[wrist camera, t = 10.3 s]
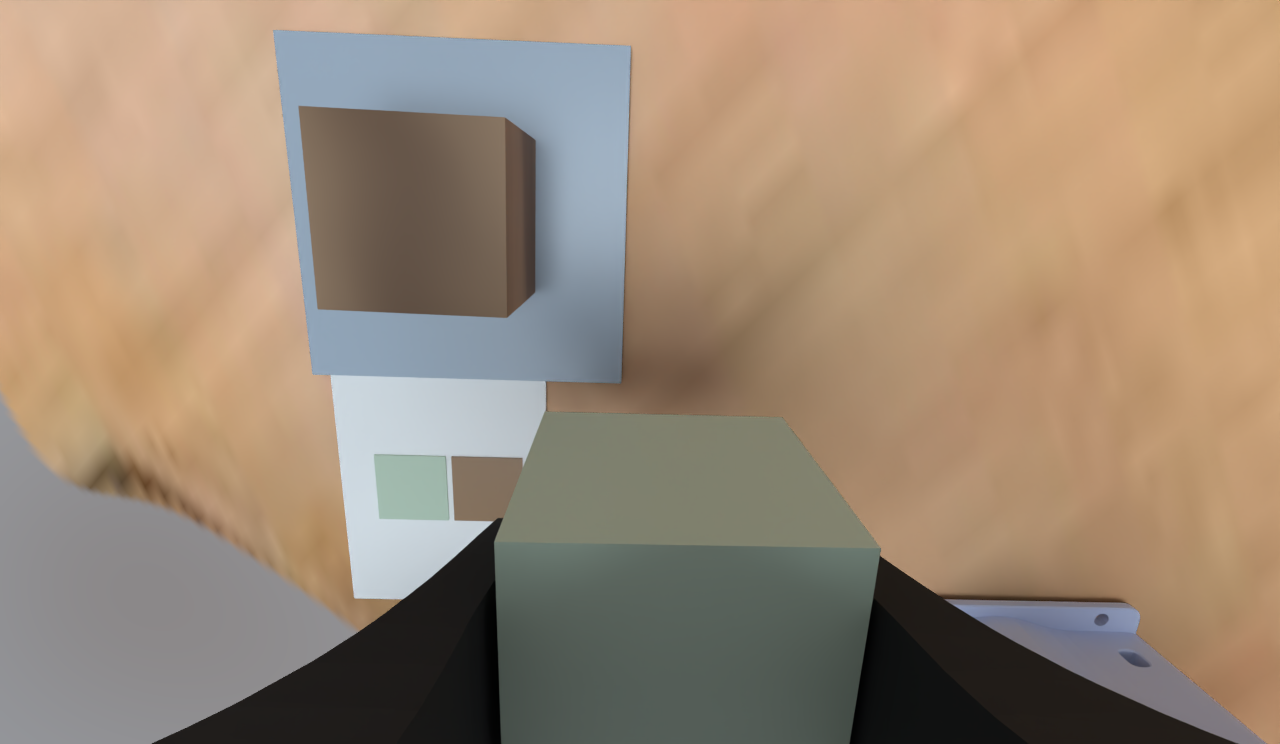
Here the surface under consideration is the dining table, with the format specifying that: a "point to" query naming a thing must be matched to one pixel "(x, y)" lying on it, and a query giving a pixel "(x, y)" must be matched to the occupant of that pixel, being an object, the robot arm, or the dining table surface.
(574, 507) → the block sage
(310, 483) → the dining table surface
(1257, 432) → the dining table surface
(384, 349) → the baseplate
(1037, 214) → the dining table surface
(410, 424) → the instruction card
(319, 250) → the block walnut
